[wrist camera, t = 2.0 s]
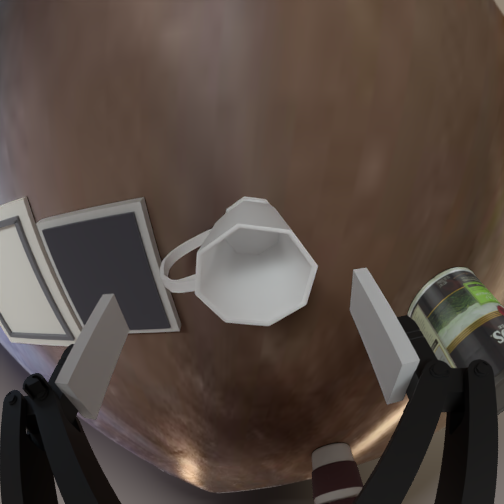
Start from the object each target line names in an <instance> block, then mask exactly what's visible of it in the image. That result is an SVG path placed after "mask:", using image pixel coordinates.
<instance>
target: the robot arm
mask: <svg viewBox="0 0 504 504" xmlns="http://www.w3.org/2000/svg"><path fill="white" fill-rule="evenodd" d="M350 312H351V314H352V317H353V319H354V321H355V324H356V326H357V329H358V331H359V333H360V336H361V338H362V341H363V343H364V346H365V348H366V351H367V353H368V356H369V358H370V361H371V363H372V366H373V368H374V371H375V374H376V376H377V379H378V381H379V384H380V387H381V389H382V392H383V395H384V398H385V400H386V403H387V404H391V403H395V402H398V401H402V400H403V399H404V396H405V394H407V396H408V398H409V401H408V403H407V405H406V407H405V409H404V411H403V415H402V417H401V419H400V421H399V423H398V425H397V427H396V429H395V431H394V433H393V435H392V437H391V439H390V441H389V443H388V445H387V447H386V449H385V451H384V452H383V454H382V456H381V458H380V460H379V461H378V463H377V465H376V467H375V468H374V470H373V472H372V474H371V475H370V477H369V478H368V480H367V482H366V483H365V485H364V486H363V488H362V490H361V491H360V493H359V494H358V496H357V497H356V499H355V500H354V502H353V503H352V504H401V503H402V501H403V499H404V497H405V495H406V494H407V492H408V490H409V488H410V486H411V484H412V482H413V480H414V478H415V476H416V473H417V472H418V469H419V467H420V465H421V463H422V461H423V458H424V456H425V454H426V451H427V449H428V446H429V444H430V442H431V439H432V436H433V434H434V431H435V429H436V426H437V423H438V420H439V417H440V414H441V412H447V417H446V430H445V441H444V450H443V458H442V465H441V472H440V478H439V484H438V489H437V494H436V499H435V503H434V504H494V498H495V489H496V478H497V464H498V463H497V462H498V418H497V400H496V389H495V380H494V372H493V369H492V366H491V365H490V364H489V363H488V362H486V361H485V360H481V359H477V360H474V361H472V362H471V363H470V364H469V366H468V368H451V367H450V366H449V365H448V364H447V363H446V362H444V361H442V360H438V359H437V357H436V356H435V354H434V352H433V350H432V349H431V347H430V345H429V344H428V342H427V340H426V338H425V337H424V335H423V333H422V332H421V331H420V328H419V327H418V325H417V324H416V322H415V321H414V320H413V319H411V318H410V317H409V316H407V315H406V316H401V317H396V316H395V314H394V312H393V310H392V309H391V307H390V305H389V304H388V302H387V300H386V298H385V297H384V295H383V293H382V292H381V290H380V289H379V287H378V285H377V284H376V282H375V280H374V279H373V277H372V276H371V274H370V272H369V271H368V269H367V268H361V269H354V270H353V279H352V291H351V302H350ZM128 333H129V327H128V325H127V323H126V321H125V319H124V316H123V314H122V312H121V309H120V307H119V305H118V302H117V300H116V298H115V295H114V294H103V295H102V297H101V298H100V300H99V302H98V303H97V305H96V307H95V308H94V310H93V312H92V314H91V315H90V317H89V319H88V321H87V322H86V324H85V326H84V328H83V329H82V331H81V333H80V335H79V337H78V338H77V340H76V342H75V344H71V345H70V346H69V347H68V348H67V349H66V350H65V351H64V353H63V355H62V356H61V359H60V360H59V362H58V365H57V366H56V368H55V370H54V372H53V374H52V376H51V378H50V380H49V382H47V381H46V380H45V378H44V377H43V376H42V375H41V374H39V373H35V374H32V375H30V376H29V377H27V379H26V380H25V381H24V384H23V390H24V391H25V392H26V393H27V394H28V396H23V395H22V394H21V393H20V392H19V391H18V390H13V391H11V392H9V393H8V394H7V395H6V397H5V399H4V402H3V412H2V422H1V438H0V484H1V499H2V504H58V500H57V494H56V489H55V482H54V477H55V480H56V482H57V485H58V487H59V490H60V493H61V495H62V497H63V500H64V502H65V504H121V502H120V501H119V499H118V498H117V496H116V494H115V492H114V491H113V489H112V487H111V486H110V484H109V482H108V480H107V478H106V476H105V474H104V473H103V471H102V469H101V467H100V465H99V463H98V461H97V459H96V457H95V455H94V453H93V451H92V449H91V446H90V444H89V442H88V440H87V437H86V435H85V433H84V431H83V428H82V426H81V424H80V421H79V419H78V418H77V417H76V415H77V412H79V413H80V414H81V415H82V416H83V417H84V418H89V419H95V420H96V419H97V416H98V413H99V410H100V407H101V404H102V401H103V399H104V396H105V393H106V390H107V387H108V385H109V382H110V379H111V376H112V374H113V371H114V368H115V366H116V363H117V361H118V358H119V355H120V353H121V350H122V348H123V345H124V343H125V340H126V338H127V335H128ZM26 429H27V434H26Z"/></svg>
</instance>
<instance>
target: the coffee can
mask: <svg viewBox="0 0 504 504" xmlns="http://www.w3.org/2000/svg"><path fill="white" fill-rule="evenodd" d="M407 316H409V317H410V318H411V319H413V320H414V321H415V322H416V324H417V325H418V327H419V328H420V331H421V332H422V333H423V335H424V337H425V338H426V340H427V342H428V344H429V345H430V347H431V349H432V350H433V352H434V354H435V356H436V357H437V359H438V360H442V361H444V362H446V363H447V364H448V365H449V366H450V367H451V368H468V366H469V364H470V363H471V362H472V361H474V360H477V359H481V360H485V361H486V362H488V363H489V364H490V365H491V366H492V369H493V372H494V380H495V389H496V400H497V415H499V414H500V413H501V412H503V411H504V308H503V306H502V305H501V304H500V303H499V302H498V301H497V299H496V298H495V297H494V296H493V295H492V294H491V293H490V292H489V290H488V289H487V288H486V287H485V286H484V285H483V284H482V283H481V282H480V281H479V279H478V278H477V277H476V276H475V275H474V273H473V272H472V271H471V270H469V269H467V268H464V267H455V268H451V269H448V270H446V271H443V272H442V273H440V274H438V275H437V276H435V277H434V278H433V279H431V280H430V281H429V282H428V283H426V284H425V285H424V287H423V288H422V289H421V290H420V291H419V292H418V294H417V295H416V297H415V298H414V300H413V301H412V303H411V306H410V308H409V311H408V314H407Z"/></svg>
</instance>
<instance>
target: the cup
mask: <svg viewBox="0 0 504 504" xmlns="http://www.w3.org/2000/svg"><path fill="white" fill-rule="evenodd" d="M199 246H201V247H200V249H199V250H198V252H197V260H196V274H194V275H192V276H188V277H185V278H182V279H179V280H171V279H170V278H168V274H169V269H170V268H171V267H172V265H173V264H174V263H175V262H176V261H177V260H178V259H180V258H181V257H182V256H184V255H185V254H187V253H189V252H190V251H192V250H194V249H195V248H197V247H199ZM317 268H318V266H317V264H316V263H315V261H314V260H313V258H312V257H311V256H310V254H309V253H308V252H307V250H306V249H305V248H304V246H303V245H302V244H301V242H300V241H299V239H298V238H297V237H296V235H295V234H294V233H293V231H292V230H291V228H290V227H289V226H288V225H287V223H286V222H285V221H284V219H283V218H282V217H281V215H280V214H279V213H278V211H277V210H276V209H275V208H274V207H273V206H271V205H270V204H269V202H268V201H267V200H266V199H260V198H252V197H243V198H241V199H240V200H238V201H237V202H236V203H234V204H233V205H232V206H230V207H229V208H227V209H226V214H224V215H223V216H222V217H221V218H220V219H219V220H218V221H217V222H216V223H215V225H214V226H213V228H212V229H210V230H207V231H205V232H203V233H201V234H199V235H197V236H195V237H193V238H192V239H190V240H188V241H186V242H184V243H183V244H181V245H179V246H178V247H176V248H175V249H174V250H172V251H171V252H169V253H168V255H167V256H166V257H165V258H164V259H163V261H162V263H161V267H160V278H161V280H162V282H163V284H164V286H165V287H166V288H167V289H168V290H170V291H171V292H174V293H184V292H191V291H195V295H196V296H197V297H198V298H199V299H200V300H202V301H203V302H204V303H205V304H206V305H207V306H208V307H209V308H210V309H211V310H212V311H213V312H214V313H215V314H217V315H218V316H219V317H220V318H221V319H222V320H223V321H224V322H227V323H237V324H248V325H260V326H270V325H272V324H274V323H275V322H277V321H279V320H281V319H283V318H284V317H286V316H288V315H290V314H291V313H293V312H295V311H297V310H298V309H300V308H302V307H303V306H305V305H306V304H307V301H308V298H309V294H310V291H311V288H312V284H313V281H314V278H315V274H316V271H317Z"/></svg>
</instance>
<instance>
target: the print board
mask: <svg viewBox="0 0 504 504" xmlns="http://www.w3.org/2000/svg"><path fill="white" fill-rule="evenodd" d="M0 326H1V327H2V329H3V331H4V332H5V334H6V335H7V337H8V338H9V340H10V341H11V342H14V343H25V344H37V345H52V346H70V345H71V344H75V342H76V340H77V338H78V337H79V335H80V333H81V331H82V329H83V328H82V327H81V325H80V323H79V321H78V319H77V317H76V315H75V313H74V311H73V310H72V308H71V306H70V304H69V302H68V300H67V298H66V295H65V293H64V291H63V289H62V287H61V285H60V283H59V281H58V278H57V276H56V274H55V272H54V269H53V267H52V265H51V262H50V260H49V258H48V255H47V253H46V250H45V248H44V245H43V243H42V240H41V237H40V235H39V232H38V229H37V226H36V223H35V221H34V218H33V215H32V212H31V209H30V206H29V202H28V199H27V196H26V197H23V198H20V199H17V200H14V201H11V202H8V203H6V204H3V205H0Z"/></svg>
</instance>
